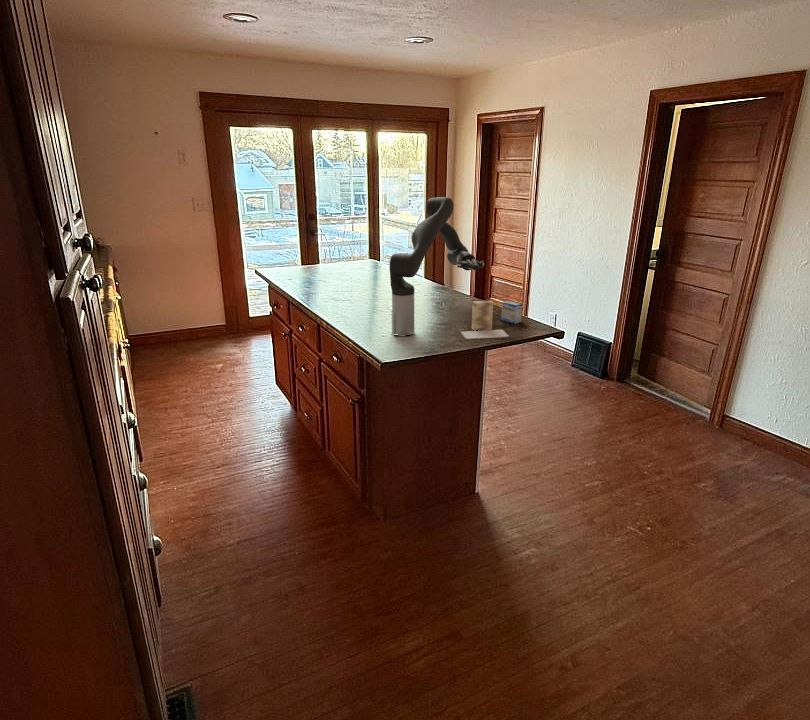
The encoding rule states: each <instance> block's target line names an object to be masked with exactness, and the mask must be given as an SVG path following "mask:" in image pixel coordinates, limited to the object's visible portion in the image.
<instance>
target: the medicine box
mask: <svg viewBox="0 0 810 720" xmlns="http://www.w3.org/2000/svg"><path fill="white" fill-rule="evenodd" d="M522 311H523V303H519V302H514V301H511V300H505V301H502V303H501V317H500V320H502V321H501V322H504V321H505V323H509V322H510V324H513V323H514V325H517V324H519V322H520V323H521V321H522ZM516 323H517V324H516Z"/></svg>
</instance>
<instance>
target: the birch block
mask: <svg viewBox="0 0 810 720" xmlns="http://www.w3.org/2000/svg"><path fill="white" fill-rule="evenodd" d="M471 306H472V307H471V330H472V331H473V330H474V331H476V330H478V331H484V330H493V316H494V315H493V314H494V313H493V312H494V302H493V301H492V300H491V299H490V300H476V301H475V300H473V301H472V305H471Z"/></svg>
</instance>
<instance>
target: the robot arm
mask: <svg viewBox="0 0 810 720" xmlns="http://www.w3.org/2000/svg"><path fill="white" fill-rule="evenodd" d="M425 206H426V208H425V209H426V213H427V216H428V217H427V218H425V219H424V220H422V221H421V222H419V223H418V224H417V225H416V228H415V229H414V231H413V232H412V234H411V243H412V246H413V249H414V250H413V252H412V253H399V252H398V253H396V252H395V253H393V254H392V255H391V257H390V260H389V276H390V277H389V278H390V279H389V280H390V289H391V333H392V332H393V333H392V335H393V334H398V335H411V334H413V335H414V334H415V287H414V285H413V284H411V283H409V282H408V281H406V280H405V279H404V278H414V277H415V276H416V275H417V273H418V272H419V269H420V268H421V265H422V263H423V261H424V258H425V256H426V255H427V252H428V251H429V249H430V248H431V246H432V244H433V243H434V241H435V239H436V237H437V236H438V234H439V233H440V235H441V236H442V239H443V241H444V244H445V246H446V248H447V249H448V250H449V252H448V253H447V255H446V258H447V260H448V262H449V263H450V264H451V265H454V266H456V267H457V268H458V269H459V268H460V269H463V270H464V271H478V270H479V269H481V268H483V267H485V261H484V260H480V261H479V260H478V259H477V258H476V257H475V255H473V254H471V253H470V252H469V250H468V248H467V247H466V246H464V245H465V244H463V243H462V242H461V239H460V237H459V234H458V232H457V231H456V229H455V228H454V227H453V226H452V225H451V224H449V223H448V222H447V221H448V220H450V218H451V217H452V214H453V211H454V201H453V200H452V198H450V197H446V196H442V197H441V196H440V197H437V196H436V197H431V198H429V199H428V200H427V201H426V205H425ZM411 336H412V335H411Z"/></svg>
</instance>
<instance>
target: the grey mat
mask: <svg viewBox="0 0 810 720" xmlns="http://www.w3.org/2000/svg"><path fill="white" fill-rule="evenodd" d="M460 334H461V335H462V336H463V337H464V339H465V340H478V339H479V340H480V339H483V340H484V339H498V338H509V337H510V335H509V334H508V333H506V332H505V330H503V329H492V330H478V331H473V330H469V331H468V330H467V331H460Z"/></svg>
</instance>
